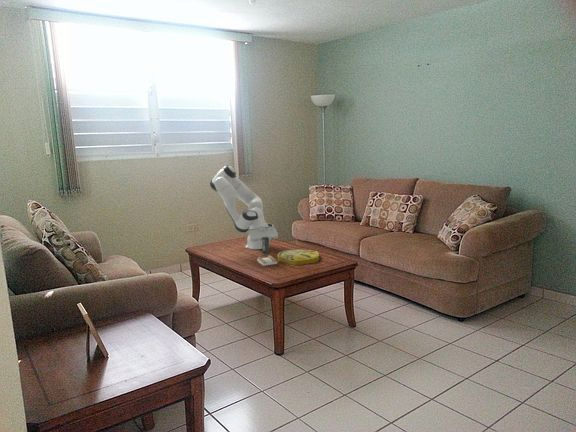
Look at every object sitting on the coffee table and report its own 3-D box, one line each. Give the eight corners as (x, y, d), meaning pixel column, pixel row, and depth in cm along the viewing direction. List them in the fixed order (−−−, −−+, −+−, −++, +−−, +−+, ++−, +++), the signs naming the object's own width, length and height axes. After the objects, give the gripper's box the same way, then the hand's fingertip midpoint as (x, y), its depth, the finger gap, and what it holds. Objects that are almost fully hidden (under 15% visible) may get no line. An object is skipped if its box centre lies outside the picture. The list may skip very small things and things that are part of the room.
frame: (261, 253, 302) (261, 237, 300) (267, 252, 303) (267, 236, 301) (264, 254, 297) (263, 238, 295) (270, 254, 298) (269, 238, 296)
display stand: (257, 260, 305) (256, 257, 305) (270, 259, 309) (270, 255, 309) (263, 265, 294) (262, 261, 293) (277, 263, 297) (277, 259, 297)
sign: (293, 247, 328) (327, 252, 310) (293, 251, 328) (327, 257, 310) (269, 256, 306) (304, 262, 288) (269, 260, 306) (304, 267, 288)
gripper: (247, 227, 299) (252, 244, 292) (275, 224, 307) (280, 240, 300) (245, 232, 304) (250, 249, 297) (273, 229, 312) (278, 245, 304)
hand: (265, 244), depth 298 cm, fingers closed on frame, 3 cm apart
